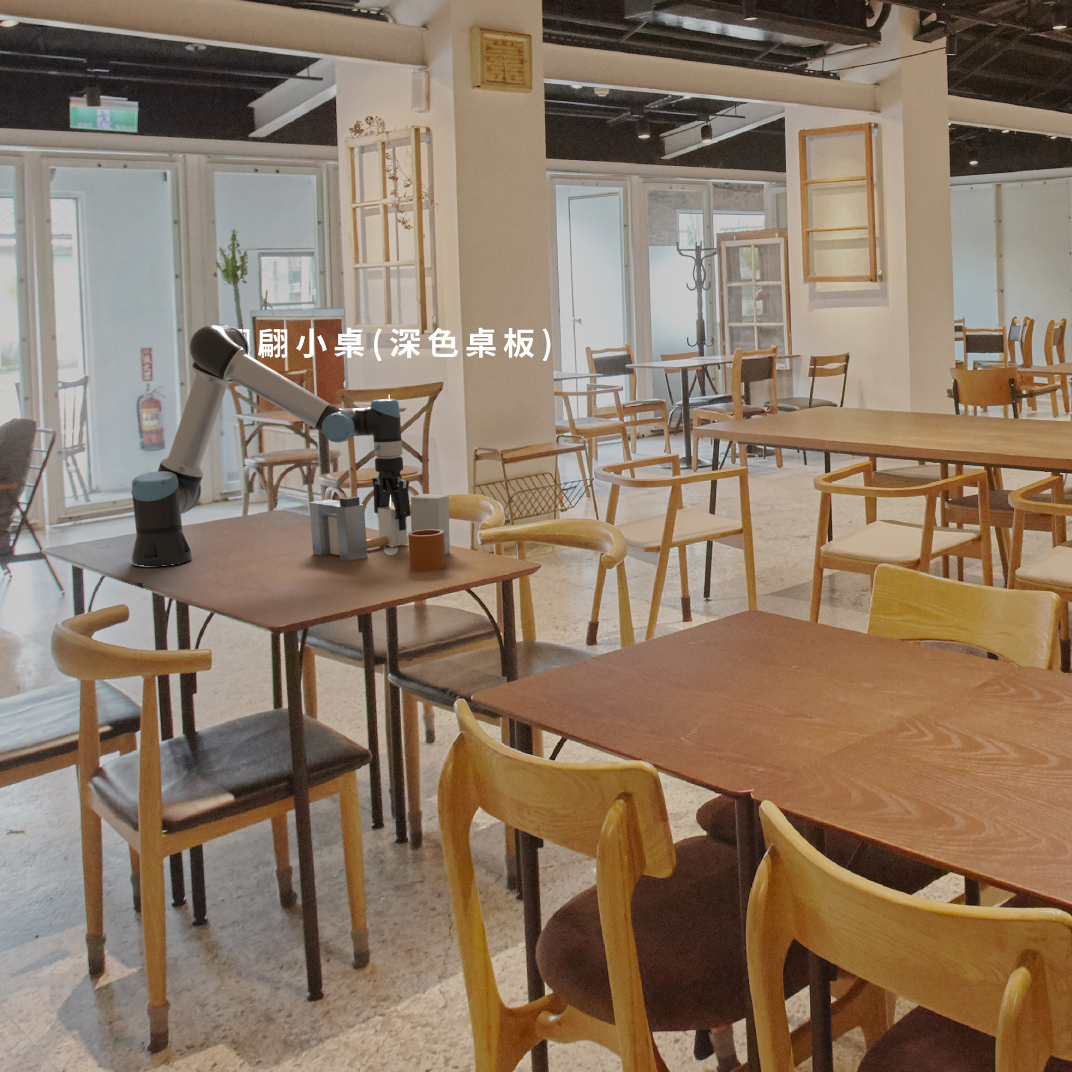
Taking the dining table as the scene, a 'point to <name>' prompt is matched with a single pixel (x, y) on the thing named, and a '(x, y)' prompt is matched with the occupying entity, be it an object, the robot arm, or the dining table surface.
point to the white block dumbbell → (385, 530)
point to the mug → (427, 550)
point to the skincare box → (431, 514)
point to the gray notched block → (339, 527)
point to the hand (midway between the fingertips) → (393, 540)
